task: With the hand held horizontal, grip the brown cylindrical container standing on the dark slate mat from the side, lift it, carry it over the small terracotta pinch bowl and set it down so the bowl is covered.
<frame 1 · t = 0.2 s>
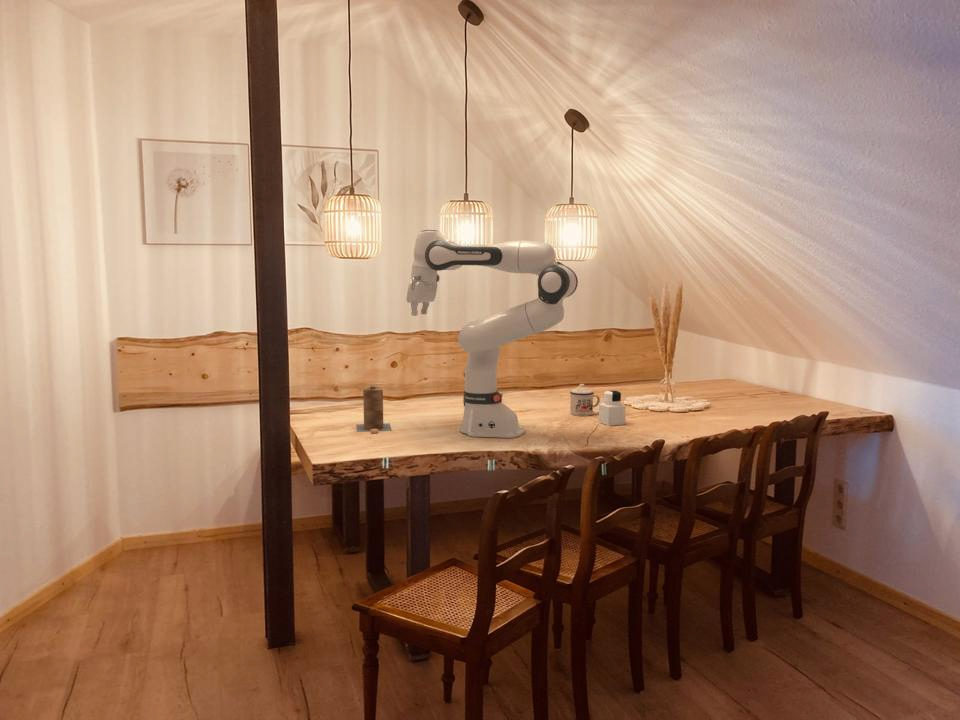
hand: (419, 315, 288), 40 cm above the table, tool pointing down, fingers open, 8 cm apart
bowl: (374, 433, 281), on the table
brown cylindrical container: (373, 427, 289), resting on mat
medicine bottle: (611, 424, 298), on the table
mat: (373, 428, 289), on the table
teacup with lid: (584, 414, 316), on the table
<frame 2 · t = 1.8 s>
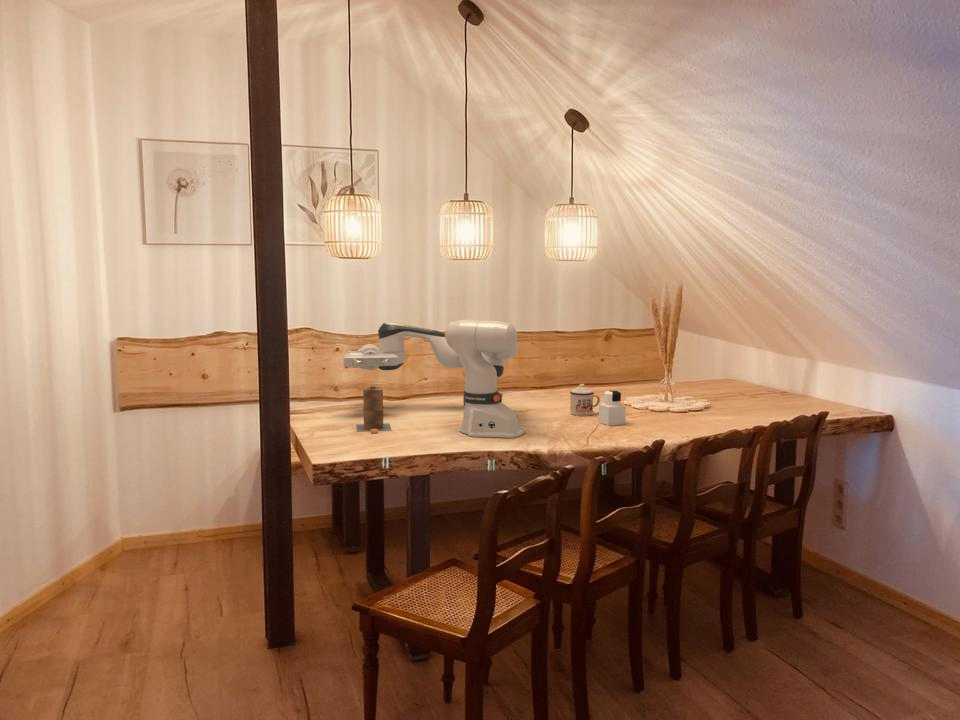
hand: (371, 363, 298), 22 cm above the table, tool horizontal, fingers open, 8 cm apart
nothing on the table moved.
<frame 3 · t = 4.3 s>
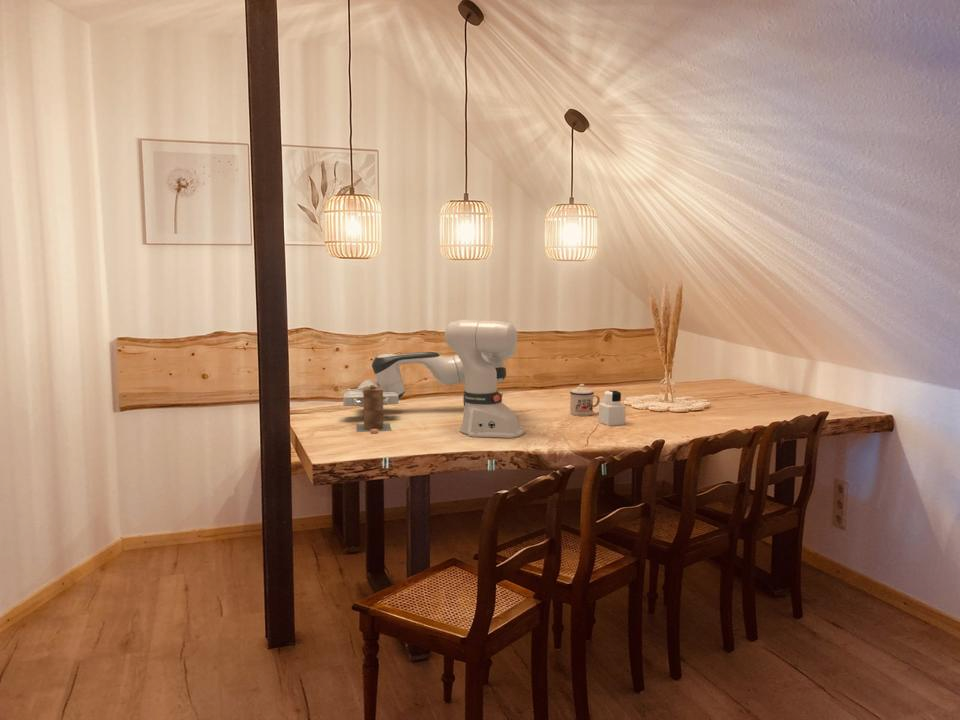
hand: (371, 403, 294), 8 cm above the table, tool horizontal, fingers open, 8 cm apart
nothing on the table moved.
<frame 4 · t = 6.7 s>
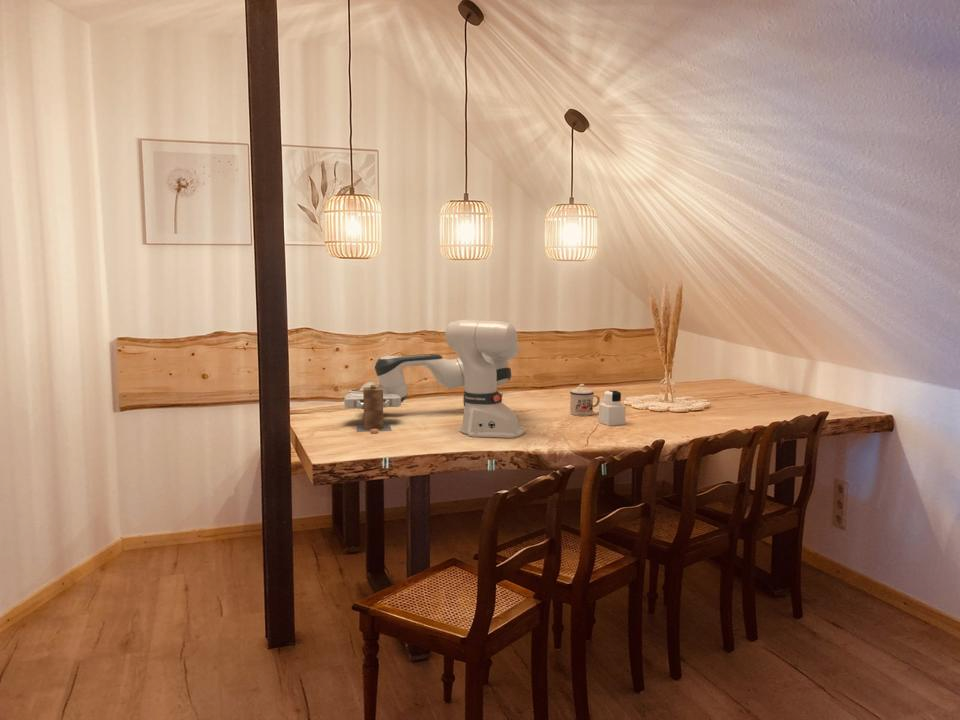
hand: (373, 405, 287), 9 cm above the table, tool horizontal, fingers closed on brown cylindrical container, 7 cm apart
brown cylindrical container: (373, 427, 289), resting on mat, touching gripper
everything else where it was.
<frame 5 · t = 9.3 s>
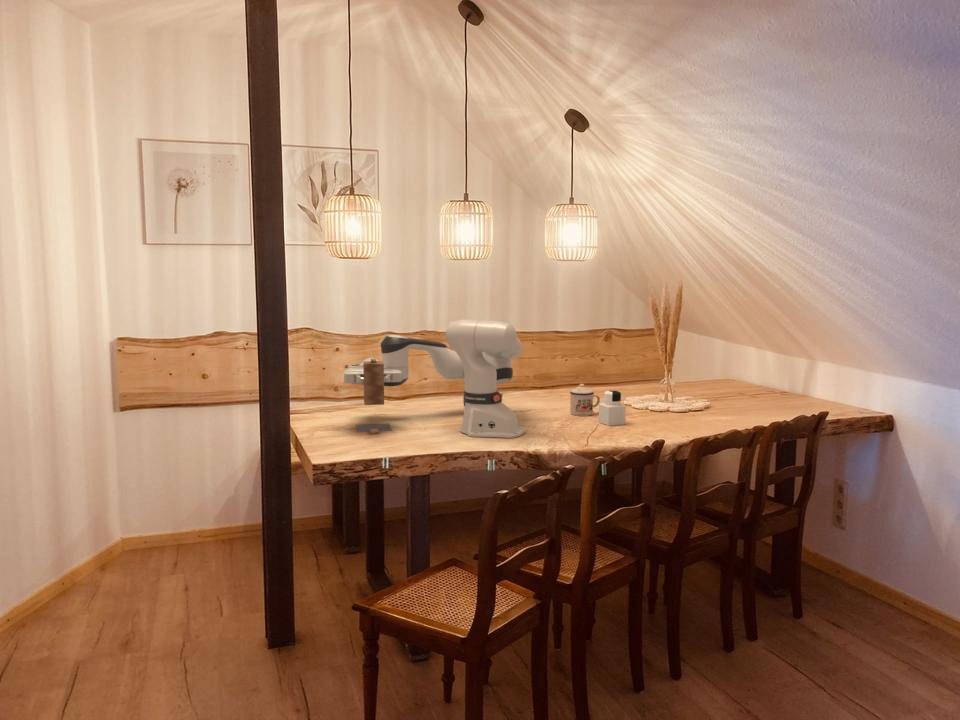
hand: (373, 380, 278), 19 cm above the table, tool horizontal, fingers closed on brown cylindrical container, 7 cm apart
brown cylindrical container: (374, 403, 280), point 11 cm above the table, touching gripper
everything else where it was.
when the fingers open (9 cm above the table, at t = 11.7 s): brown cylindrical container stays where it is, on the table.
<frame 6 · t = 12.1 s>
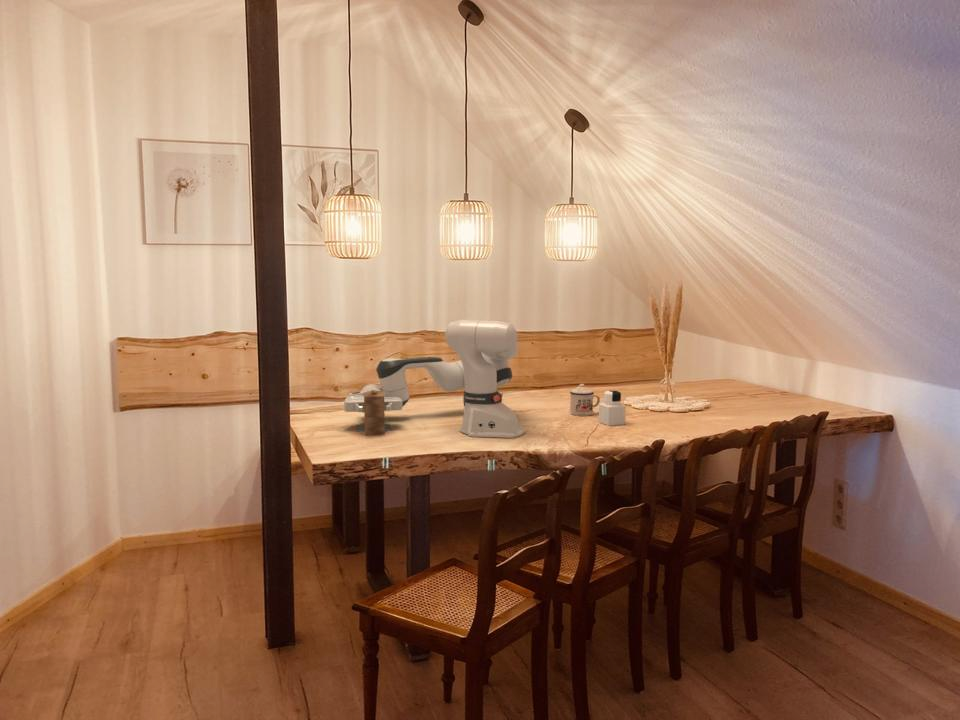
hand: (374, 408, 279), 9 cm above the table, tool horizontal, fingers open, 8 cm apart
brown cylindrical container: (374, 432, 281), on the table, tilted 5°
everything else where it was.
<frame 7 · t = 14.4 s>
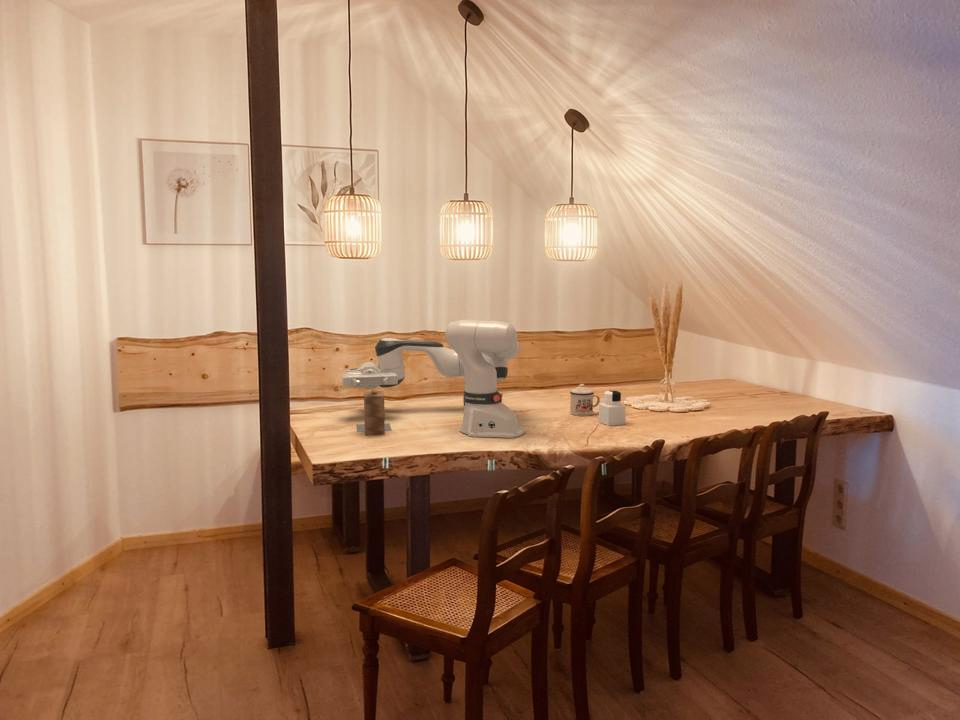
hand: (370, 382, 293), 15 cm above the table, tool horizontal, fingers open, 8 cm apart
brown cylindrical container: (374, 433, 281), on the table, touching mat
everything else where it was.
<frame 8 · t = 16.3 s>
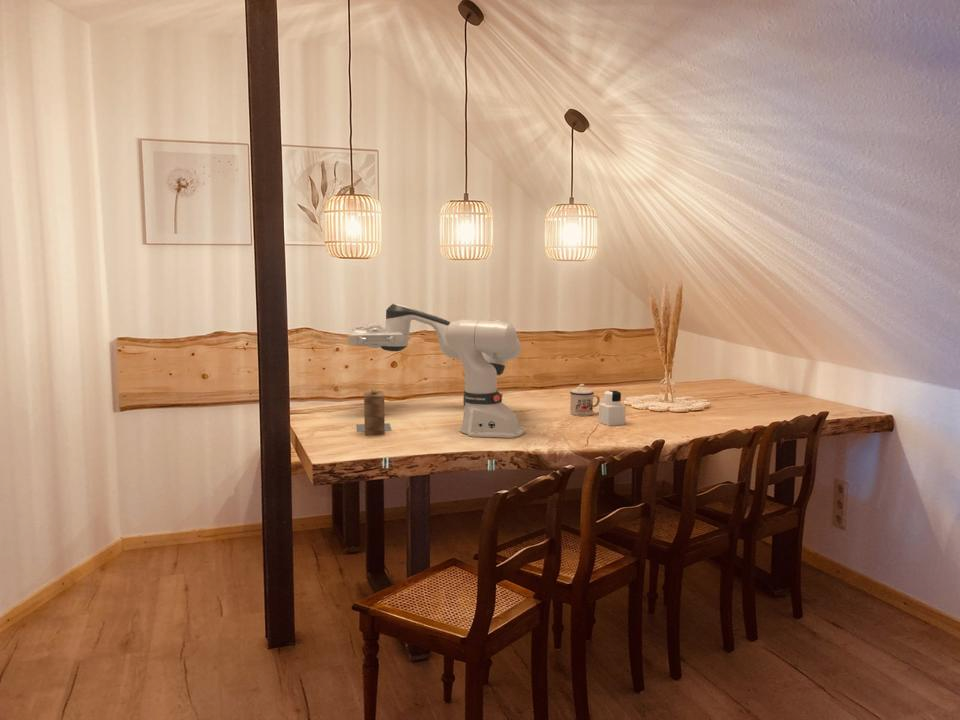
hand: (376, 340, 298), 30 cm above the table, tool horizontal, fingers open, 8 cm apart
nothing on the table moved.
at the end: brown cylindrical container 0.2 cm from the bowl (horizontally); brown cylindrical container on the table; brown cylindrical container tilted 4° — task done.
